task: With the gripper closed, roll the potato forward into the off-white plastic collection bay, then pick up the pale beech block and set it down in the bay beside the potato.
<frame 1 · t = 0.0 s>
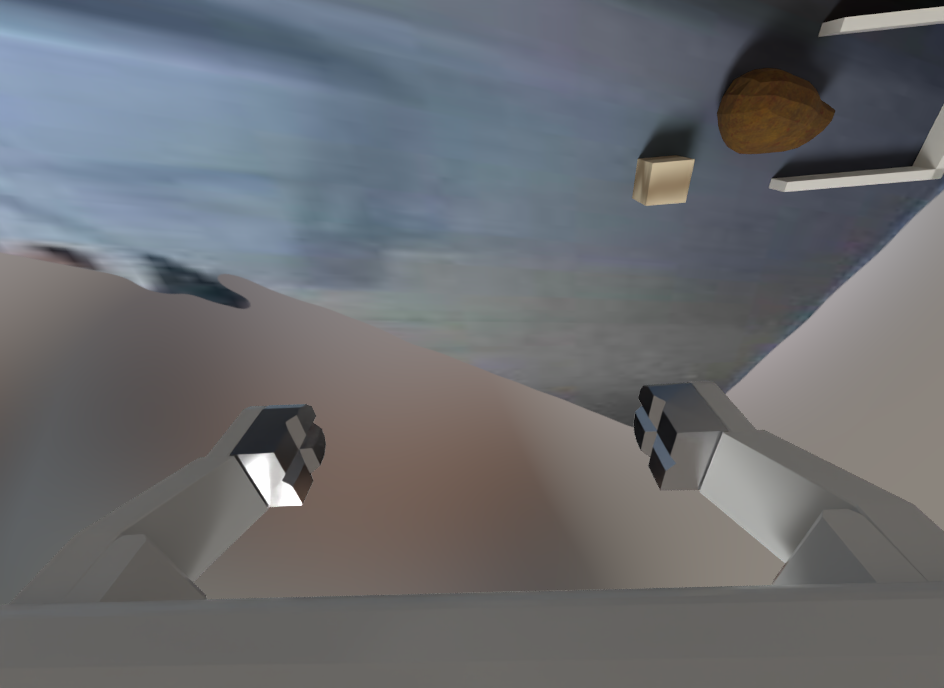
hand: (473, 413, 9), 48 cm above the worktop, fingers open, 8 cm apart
collection bay: (868, 106, 45), on the worktop
potato: (746, 118, 46), on the worktop
beech block: (653, 177, 50), on the worktop
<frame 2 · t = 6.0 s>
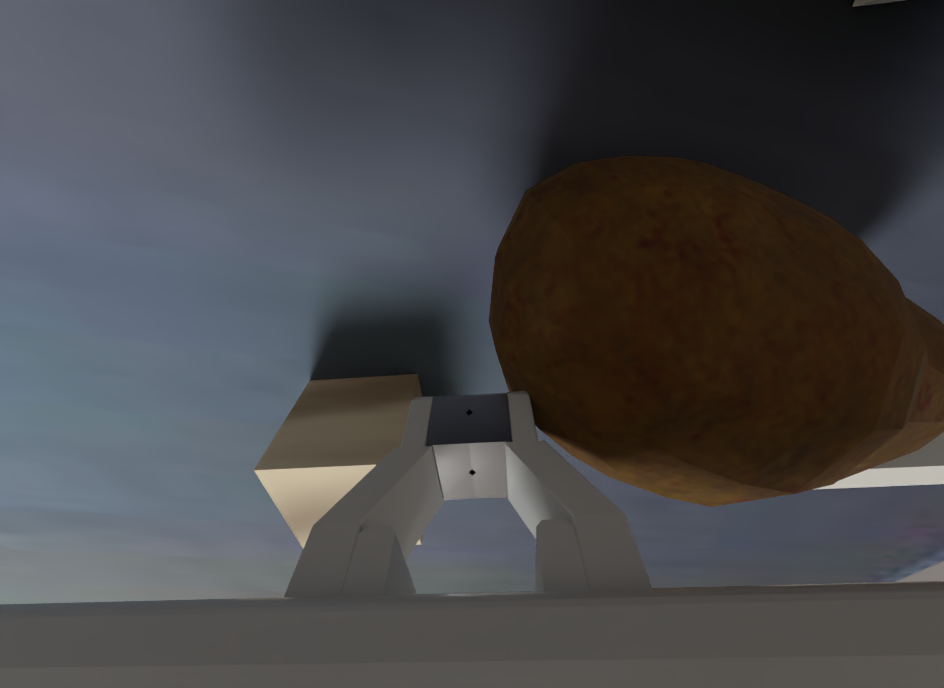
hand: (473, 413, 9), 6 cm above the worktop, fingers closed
potato: (627, 285, 14), on the worktop, touching gripper
beech block: (376, 416, 18), on the worktop
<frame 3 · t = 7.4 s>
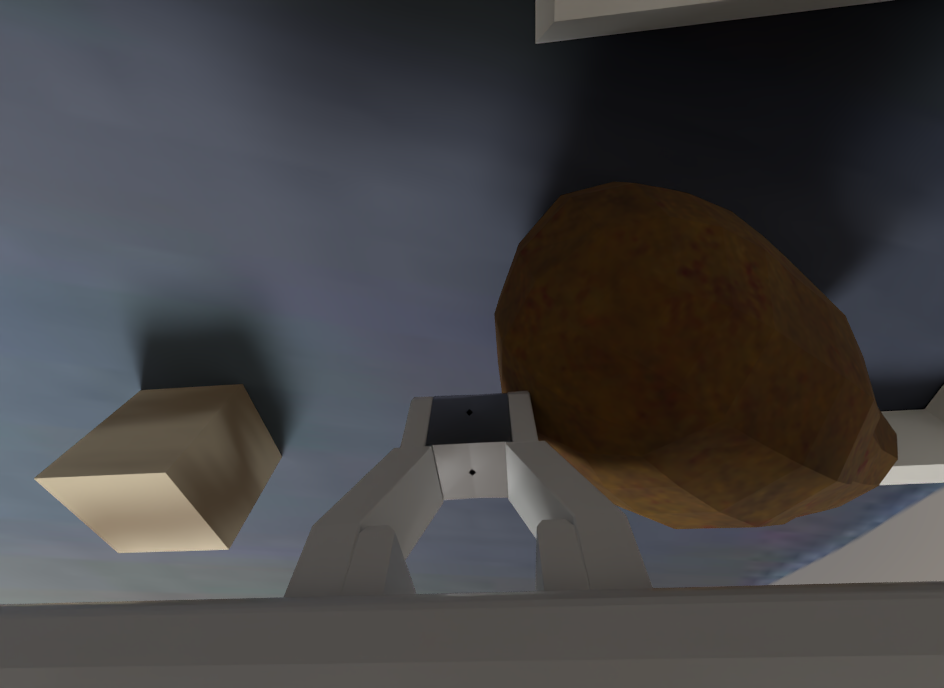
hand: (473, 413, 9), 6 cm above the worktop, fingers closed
collection bay: (779, 273, 14), on the worktop
potato: (616, 310, 15), on the worktop, touching gripper
beech block: (217, 424, 18), on the worktop
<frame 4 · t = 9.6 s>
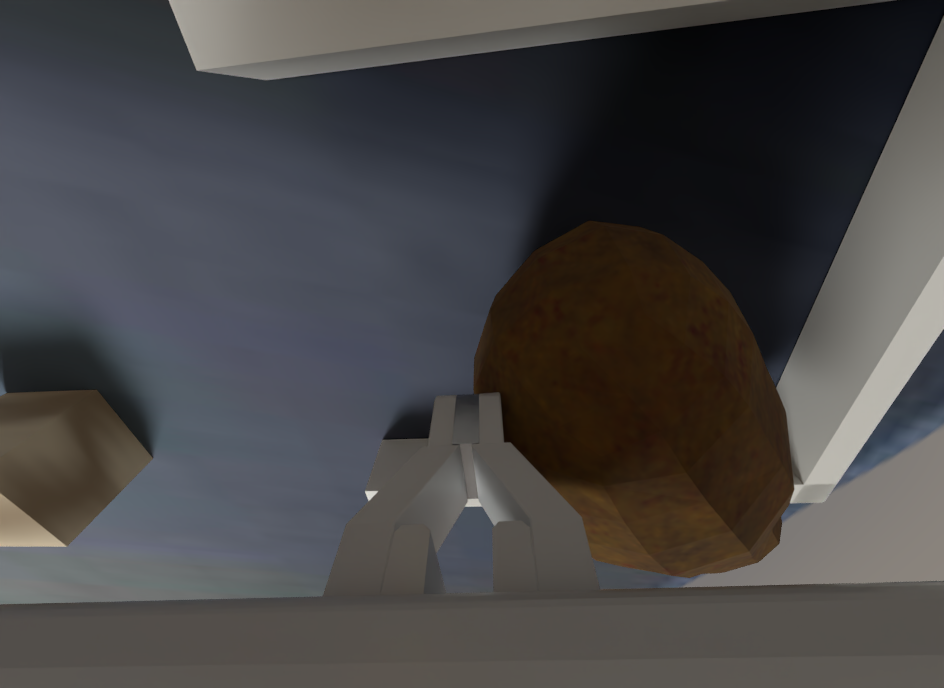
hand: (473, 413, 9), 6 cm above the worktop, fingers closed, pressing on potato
collection bay: (568, 294, 14), on the worktop
potato: (587, 345, 15), on the worktop, touching collection bay, gripper
beech block: (85, 426, 19), on the worktop
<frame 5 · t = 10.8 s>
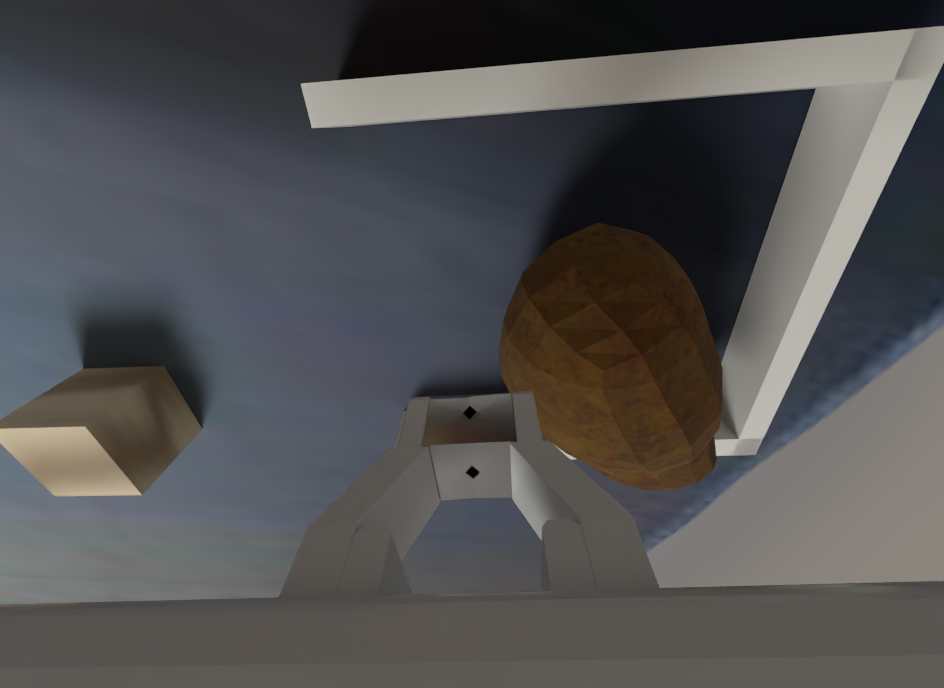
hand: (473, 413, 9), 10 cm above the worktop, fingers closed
collection bay: (559, 289, 18), on the worktop
potato: (581, 325, 19), on the worktop
beech block: (146, 399, 23), on the worktop
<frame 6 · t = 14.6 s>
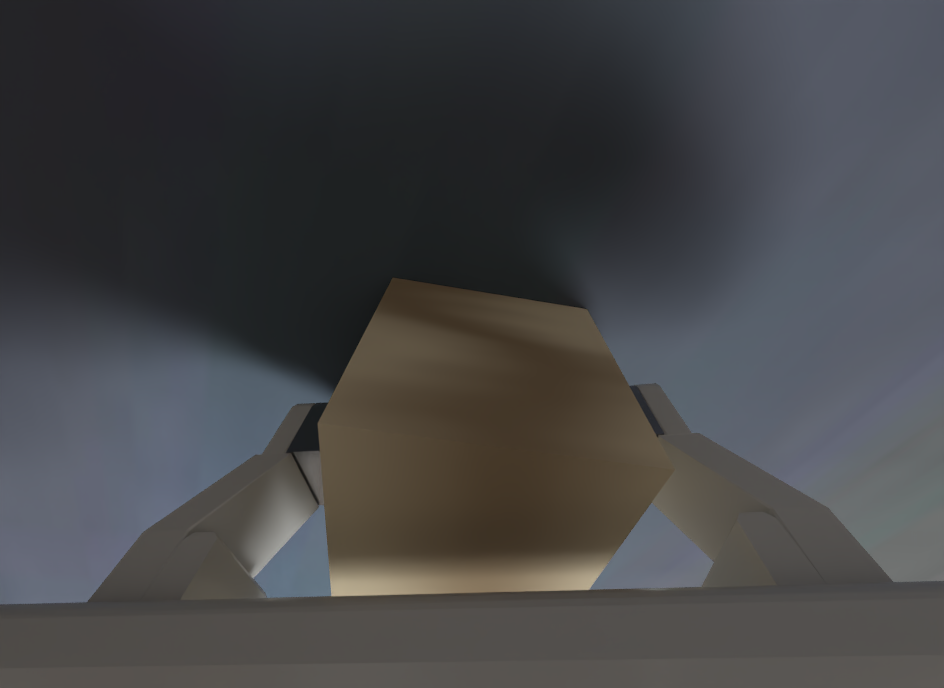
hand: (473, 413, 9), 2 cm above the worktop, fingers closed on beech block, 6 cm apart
beech block: (474, 371, 11), on the worktop, touching gripper
when the fingers open (4 cm above the worktop, at t = 20.6 s): beech block moves 1 cm and tips over, point 2 cm above the worktop.
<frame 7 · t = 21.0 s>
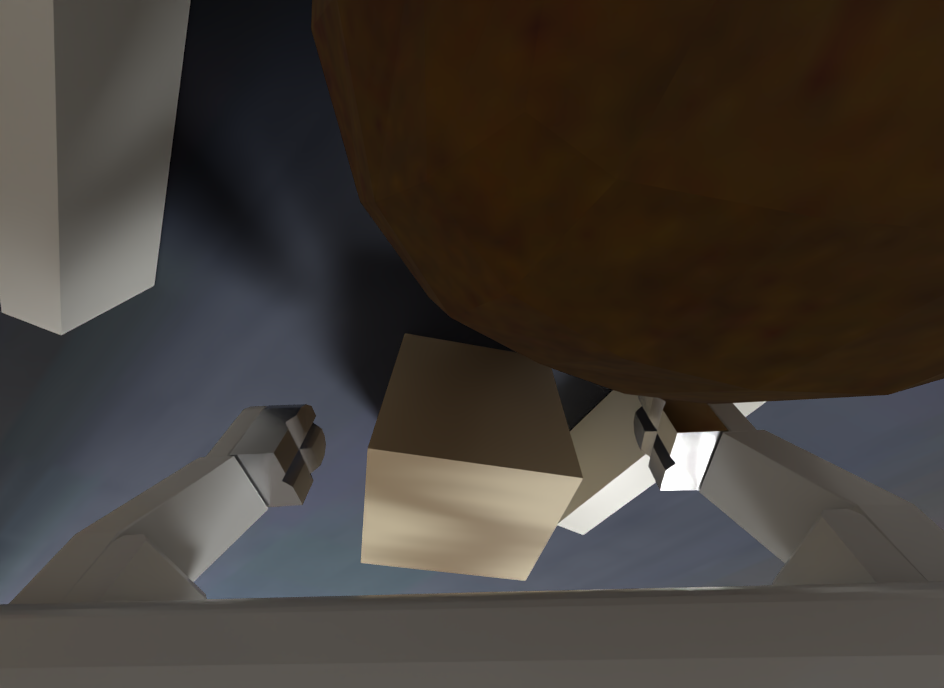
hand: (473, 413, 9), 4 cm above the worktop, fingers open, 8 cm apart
collection bay: (517, 142, 9), on the worktop
potato: (624, 126, 9), on the worktop
beech block: (478, 392, 10), point 2 cm above the worktop, tilted 90°
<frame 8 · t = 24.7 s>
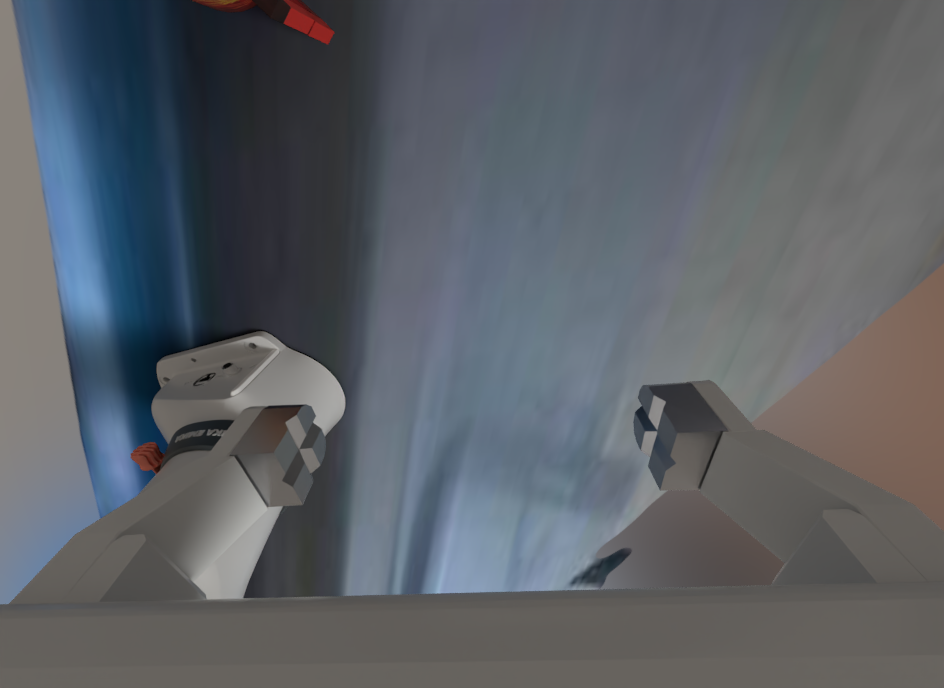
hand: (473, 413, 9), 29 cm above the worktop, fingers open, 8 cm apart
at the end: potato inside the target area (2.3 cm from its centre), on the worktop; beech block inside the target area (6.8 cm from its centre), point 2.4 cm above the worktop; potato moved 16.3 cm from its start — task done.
